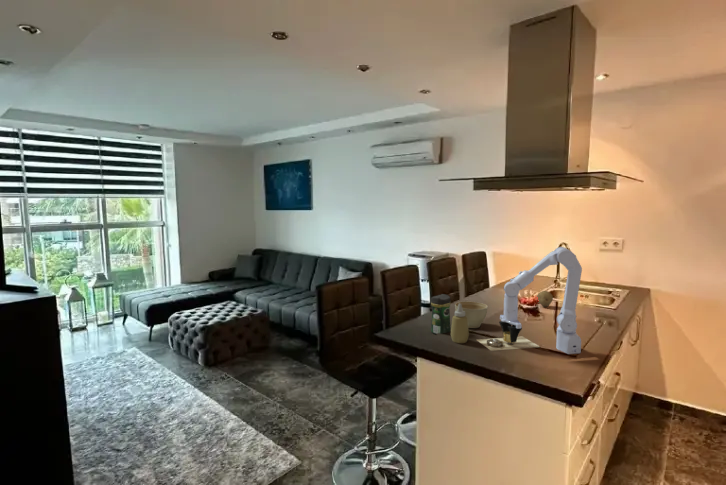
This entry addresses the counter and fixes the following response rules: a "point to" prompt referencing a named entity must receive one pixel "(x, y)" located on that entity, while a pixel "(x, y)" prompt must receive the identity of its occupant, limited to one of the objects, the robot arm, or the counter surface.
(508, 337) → the brass gear
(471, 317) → the planter bowl
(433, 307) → the coffee jar
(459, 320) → the squeeze bottle
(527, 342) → the gear board
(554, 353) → the counter surface
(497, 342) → the drive gear
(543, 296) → the natural sponge
